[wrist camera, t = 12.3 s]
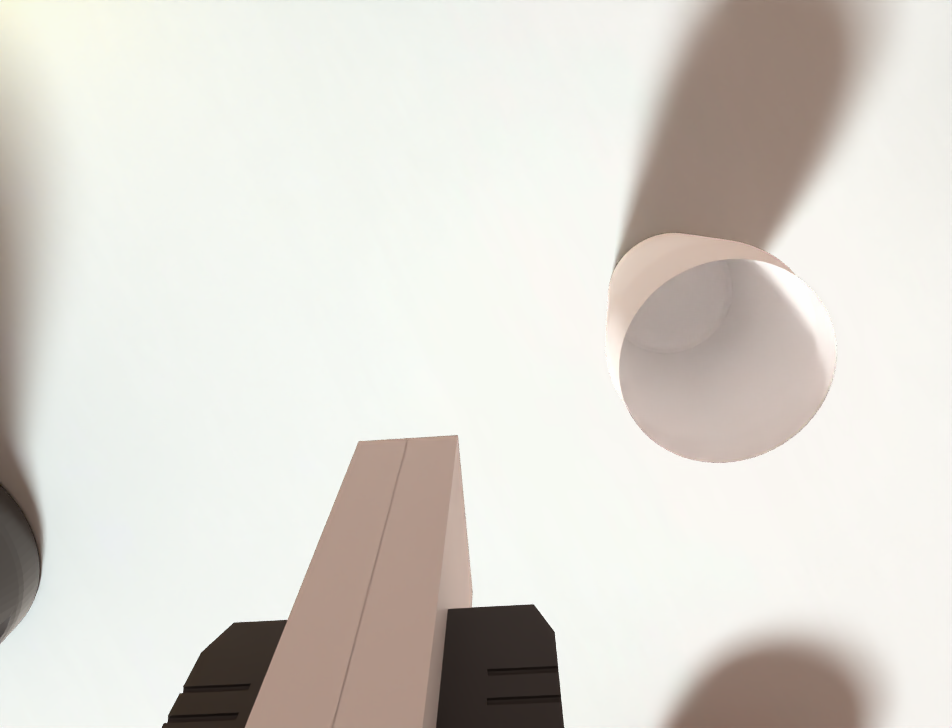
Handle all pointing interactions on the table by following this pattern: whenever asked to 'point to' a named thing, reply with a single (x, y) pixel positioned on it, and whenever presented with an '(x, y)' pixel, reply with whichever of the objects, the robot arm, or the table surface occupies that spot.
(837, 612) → the table surface
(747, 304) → the cup
